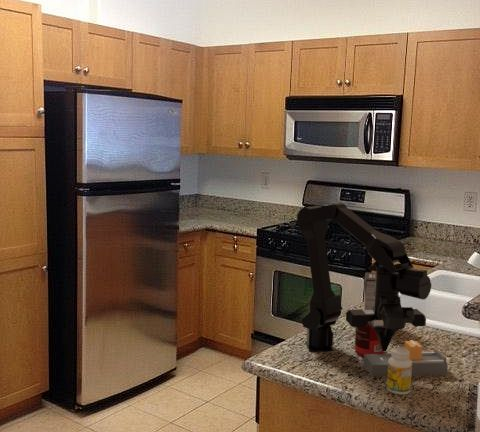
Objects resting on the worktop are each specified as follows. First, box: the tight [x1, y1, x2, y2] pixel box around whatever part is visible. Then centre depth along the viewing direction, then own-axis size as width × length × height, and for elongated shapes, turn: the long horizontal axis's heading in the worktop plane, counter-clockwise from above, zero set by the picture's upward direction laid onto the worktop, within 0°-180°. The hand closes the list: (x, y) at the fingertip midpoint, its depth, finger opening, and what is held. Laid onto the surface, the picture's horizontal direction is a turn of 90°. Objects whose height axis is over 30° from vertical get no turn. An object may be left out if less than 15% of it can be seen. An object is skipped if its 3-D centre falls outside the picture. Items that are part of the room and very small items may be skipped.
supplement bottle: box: [386, 347, 412, 396], centre depth 131 cm, size 5×5×10 cm
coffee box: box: [363, 272, 376, 310], centre depth 175 cm, size 9×6×16 cm
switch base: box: [363, 348, 448, 378], centre depth 143 cm, size 19×7×4 cm, turn 94°
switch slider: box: [404, 339, 423, 360], centre depth 142 cm, size 3×4×4 cm
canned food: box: [354, 309, 384, 358], centre depth 154 cm, size 8×8×11 cm
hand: (383, 350), depth 142 cm, fingers closed
